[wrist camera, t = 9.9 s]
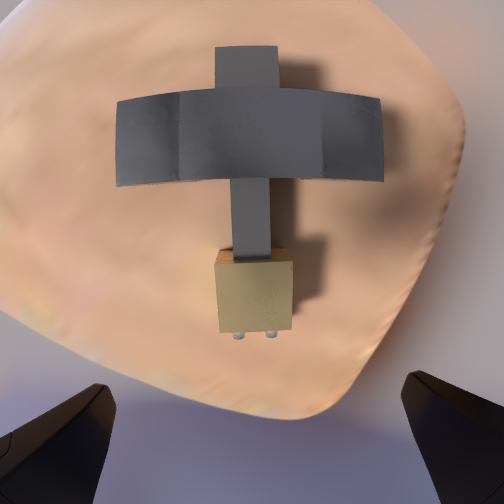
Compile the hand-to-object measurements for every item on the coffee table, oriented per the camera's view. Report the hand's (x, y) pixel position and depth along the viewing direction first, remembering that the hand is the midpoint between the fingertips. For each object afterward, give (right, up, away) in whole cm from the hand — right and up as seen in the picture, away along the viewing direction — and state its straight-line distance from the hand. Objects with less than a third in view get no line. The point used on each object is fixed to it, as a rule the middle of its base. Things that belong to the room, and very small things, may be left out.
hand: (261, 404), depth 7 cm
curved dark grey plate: (0, +10, +9) cm, 13 cm away
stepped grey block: (-1, +10, +9) cm, 13 cm away
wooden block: (0, +2, +11) cm, 11 cm away
